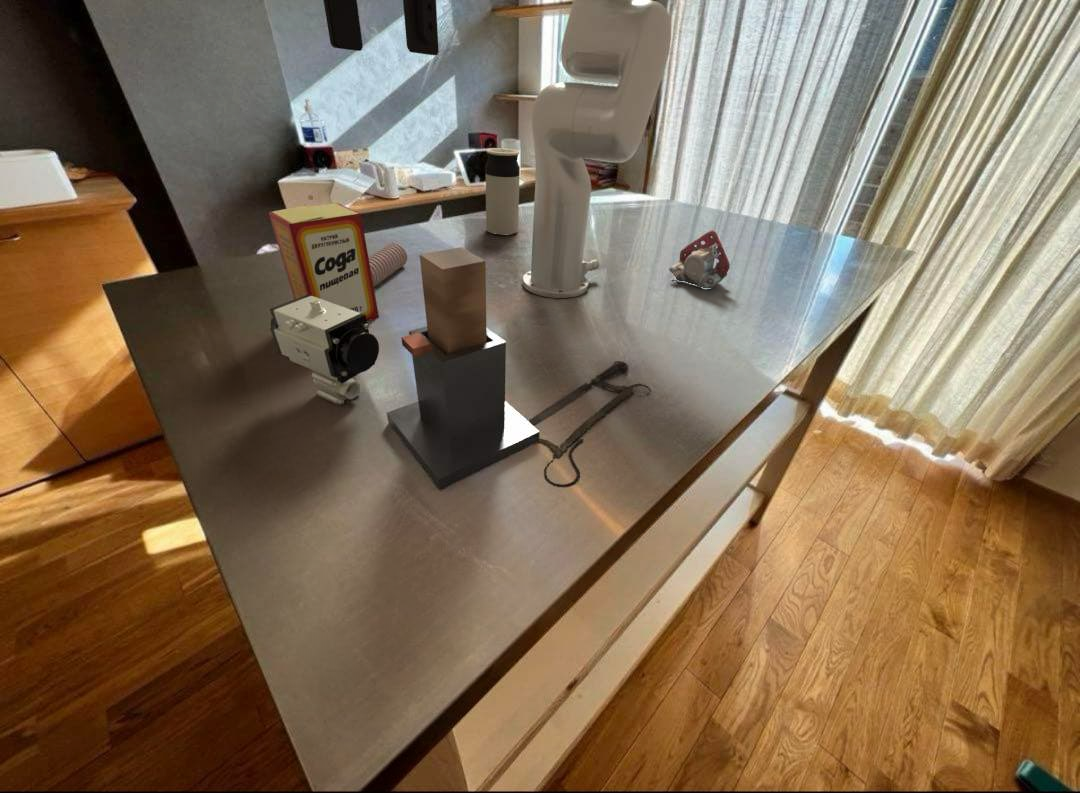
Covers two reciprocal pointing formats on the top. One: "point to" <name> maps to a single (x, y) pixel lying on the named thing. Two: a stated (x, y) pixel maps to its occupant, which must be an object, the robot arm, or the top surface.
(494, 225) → the travel mug
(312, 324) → the pneumatic valve
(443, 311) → the column
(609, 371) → the hacksaw
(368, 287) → the baking soda box
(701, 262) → the brake caliper
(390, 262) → the coil
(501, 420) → the sleeve
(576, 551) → the top surface
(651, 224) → the top surface
